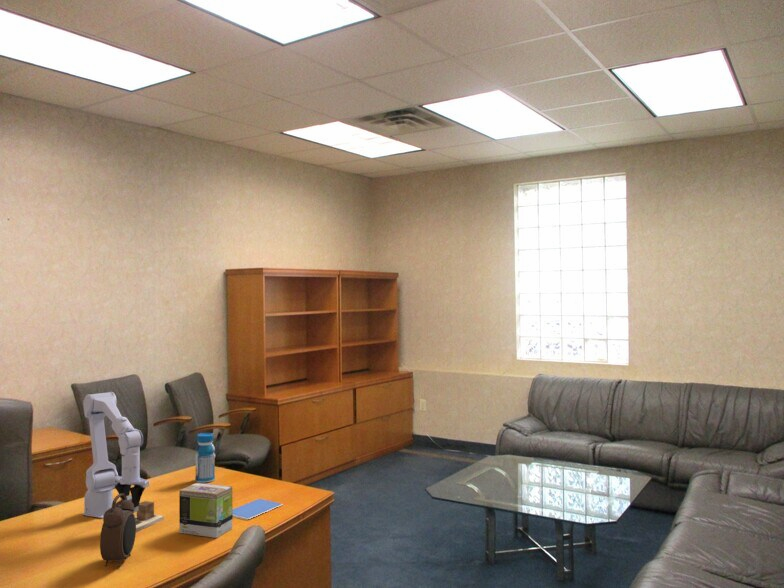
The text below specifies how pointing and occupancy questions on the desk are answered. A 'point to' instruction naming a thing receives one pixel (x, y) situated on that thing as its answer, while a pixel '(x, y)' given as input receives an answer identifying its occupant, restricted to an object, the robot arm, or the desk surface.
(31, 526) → the desk surface
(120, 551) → the alarm clock
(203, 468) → the beverage bottle
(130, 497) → the grey block
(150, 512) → the walnut block
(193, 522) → the tea box
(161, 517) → the board
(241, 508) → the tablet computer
